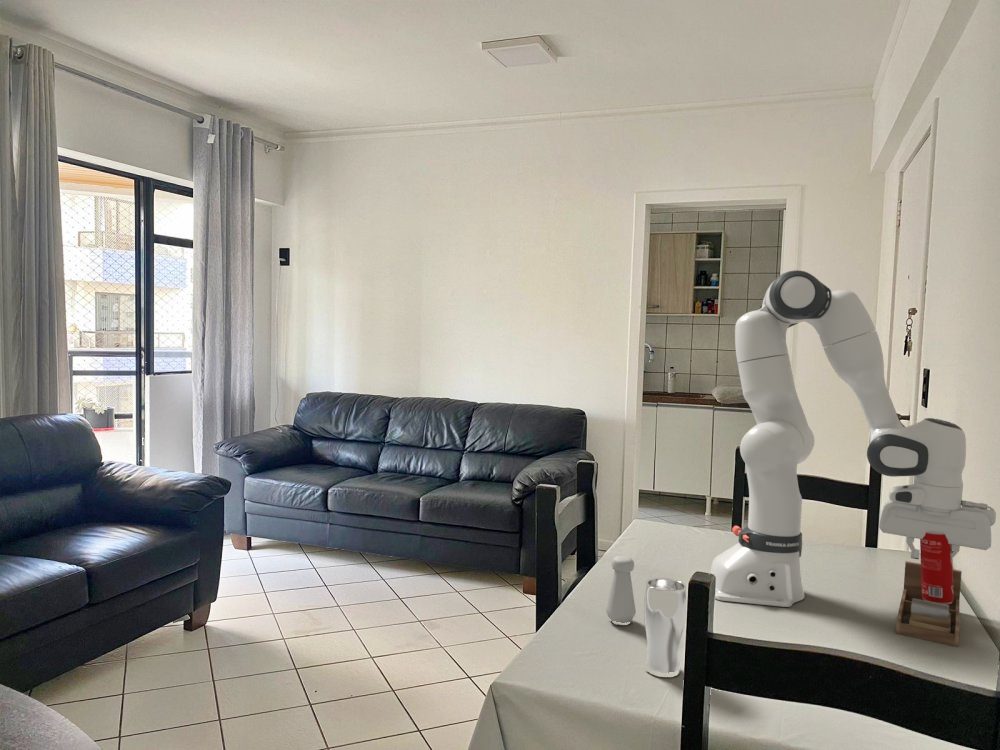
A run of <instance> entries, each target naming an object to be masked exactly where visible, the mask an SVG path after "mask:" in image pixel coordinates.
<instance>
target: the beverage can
mask: <svg viewBox="0 0 1000 750" xmlns="http://www.w3.org/2000/svg"><path fill="white" fill-rule="evenodd" d="M919 543H920V544H919V545H920V547H919V550H920V552H919V554H920V564H921V587H922V598H923V599H924V600H925V601H930V602H935V603H940V604H945V605H946V604H951V603H952V602H953V600H954V595H953V569H954V567H953V565H954V564H953V558H952V559H951V554H952V551H953V550H952V544H949V543H948V539H947V538H946V535H945V534H937V533H928V532H926V534H925V536H924V537H923V539H919Z"/></svg>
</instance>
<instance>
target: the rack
mask: <svg viewBox="0 0 1000 750" xmlns="http://www.w3.org/2000/svg"><path fill="white" fill-rule="evenodd" d="M903 580H904V581H903V590H902V595H901V598H900V603H899V608H898V611H897V615H896V616H897V617H896V626H895V633H896V634H899V635H904V636H908V637H913V638H917V639H921V640H927V641H931V642H933V643H938V644H939V643H940V644H944V645H948V646H953V647H959V642H960V641H959V640H960V639H959V638H960V604H961V603H960V600H961V598H960V596H961V585H962V570H960V569H954V568H953V595H954V600H953V602H952V603H951V604H946V605H949V613H951V616H950V621H951V625H950V626H954V633H951V632H950V633H947V632H942V631H938V630H933V629H928V628H924V627H919V626H914V625H910V624H909V623H905V622H904V623H903V622H902V621H903V617H905V616H906V617H910V614H911V605H912V599H913V598H915V599H920V600H924V599H923V598H922V587H921V563H919V562H918V563H917V562H911V561H908V560H905V565H904V579H903Z"/></svg>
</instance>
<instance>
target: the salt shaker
mask: <svg viewBox="0 0 1000 750" xmlns="http://www.w3.org/2000/svg"><path fill="white" fill-rule="evenodd" d="M611 567H612V569H613V576H612V581H611V584H610V589H609V593H608V597H607V601H606V605H605V613H606V615H607V617H609V618H610V619H611V620H612V621H616V622H621V623H625V622H626V623H627V622H631V621H633V619H634V617H635V615H636V614H637V613H636V604H635V603H636V602H635V598H634V597H635V596H634V590H633V583H632V576H631V572H633V571H634V569H635V561H634V560H633V558H631V557H630V556H624V555H617V556H615V557H613V559H612V561H611ZM609 618H608V619H609ZM631 623H632V622H631Z"/></svg>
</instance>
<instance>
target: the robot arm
mask: <svg viewBox="0 0 1000 750" xmlns="http://www.w3.org/2000/svg"><path fill="white" fill-rule="evenodd" d="M802 322H805V323H807V324H809V325H811V326H812V327H813V328H814V330H815V331H816V333H817V334H818V335H819V339H820V342H821V345H822V348H823V352H824V353H825V355H826V358H827V360H828V362H829V364H830V366H831V367H832V369H833V370H834V372H835V373H836V375H837V376H838V377H839V378H840V379H841V380H843V381H844V382H845V384H847V385H848V386H849V387H850V388H851V389H852V391H853V392H854V393H855V394H854V395H855V396H856V397H857V399H858V401H859V405H860V407H861V409H862V412H863V414H864V417H865V419H866V423H867V424H868V427H869V428H868V429H869V441H868V447H867V449H866V459H867V461H868V463H869V465H870V466H871V468H872V469H873V470H875V471H876V472H877V473H878V474H881V475H883V476H886V477H894V478H897V477H913V483H911V484H905V485H897V486H893V487H892V488H890V489H889V492H888V499H887V500H886V502H885V503H884V506H883V508H882V511H881V515H880V519H879V524H878V525H879V526H878V528H879V529H880V531H881V532H882V533H883V534H887V535H889V534H890V535H895V536H902V537H906V544H907V546H908V547H909V549H910V551H911V552H910V558H911V559H913V560H920V549H917V548H916V547H915V546H914V544H913V543H914V542H915V539H918V540H920V539H923V537H924V536H925V534H926V532H928V533H937V534H945V535H946V538H947V539H948V543H949V544H952V554H951V559H953V558H954V557H956V555H957V554H959V552H960V548H961V547H965V548H971V549H974V550H975V549H976V550H981V551H987V550H989V549H990V548H991V546H992V526H994V524H995V523H996V519H997V518H996V516H997V515H996V514H997V513H996V510H995V509H994V507H991V506H989V505H988V504H987V503H982V502H974V501H969V500H963V491H964V490H963V489H964V482H963V475H962V474H963V471H964V469H965V466H966V453H967V443H966V442H967V440H966V439H967V438H966V434H965V432H964V430H963V428H962V427H960V426H959V425H957V423H956V424H955V423H954V422H953V423H952V422H951V421H947V420H943V419H939V418H933V417H930V418H929V417H928V418H923V419H922V420H921V421H918V422H916V423H914V424H911V425H908V426H906V425H904V424H903V423H902V421H901V419H900V417H899V416H898V414H897V411H896V408H895V406H894V403H893V400H892V399H891V396H890V393H889V391H888V388H887V385H886V379H885V363H884V353H883V349H882V345H881V340H880V338H879V335H878V332H877V330H876V327H875V324H874V322H873V320H872V318H871V316H870V314H869V312H868V310H867V308H866V307H865V305H864V303H863V302H862V300H861V299H860V298H859V296H858V294H856V293H855V292H854V291H851V290H848V289H835V290H833V291H832V290H831V289H830V288H829V287H828V286H827V285H825V284H824V283H823V282H821V281H820V280H819V279H818V278H817V277H815V276H814V275H813V274H811V273H809V272H807V271H804V270H798V269H796V270H795V269H794V270H790V271H786V272H783V273H782V274H780V275H779V276H777V278H775V279H774V280H773V281H772V282H771V283H770V285H768V287H767V289H766V292H765V294H764V296H763V299H762V301H761V305H760V307H759V309H757V310H756V309H755V310H752V311H749V312H745V313H744V314H743V315H742V316H740V317H739V318H738V319H737V320H736V322H735V325H734V343H735V344H734V346H735V356H736V362H737V367H738V373H739V380H740V384H741V390H742V396H743V398H744V400H745V402H746V404H748V406H749V408H750V410H751V412H752V415H753V418H754V420H755V422H756V423H755V424H756V425H754V426H752V427H751V428H750V429H748V431H747V432H746V433H745V434H744V436H743V437H742V438H741V441H740V445H739V453H740V456H741V458H742V460H743V462H744V463H745V471H746V478H747V483H748V484H747V485H748V495H749V497H748V499H749V500H748V517H747V519H748V520H747V522H748V523H747V525H746V526H745V527H744V528H741V527H740V526H738V525H734V526H733V527H732V529H731V532H732V534H733V535H734V536H737V537H738V542H737V543H736V544H733V546H731V547H729V548H727V549H726V550H725V551H723V552H721V553H720V554H718V555H716V556H715V557H714V559H713V561H712V563H711V566H710V571H709V574H710V573H712V574H714V575H715V576H716V578H717V582H716V597H715V598H714V599H715V600H718V601H724V602H731V603H732V602H733V603H734V602H735V603H742V604H743V603H744V604H750V605H751V604H754V605H762V606H763V605H764V606H773V607H782V608H790V607H792V605H793V604H795V603H797V602H799V601H802V600H803V599H805V591H804V586H803V581H802V574H801V564H800V563H801V561H800V558H801V557H802V550H803V533H802V532H801V527H802V526H801V525H802V509H803V508H802V507H803V498H802V495H801V493H800V488H799V480H798V473H797V470H798V465H799V464H802V463H803V462H805V460H806V459H807V458H809V456H810V455H811V453H812V452H813V449H814V447H815V436H814V435H815V434H814V433H813V431H812V429H811V428H810V426H809V424H808V421H807V416H806V415H805V413H804V409H803V407H802V404H801V402H800V399H799V396H798V393H797V389H796V386H795V381H794V377H793V371H792V365H791V361H790V360H791V359H790V355H789V351H788V350H789V349H788V346H787V331H788V329H789V328H791V327H793V326H796V325H798V324H800V323H802Z"/></svg>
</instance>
